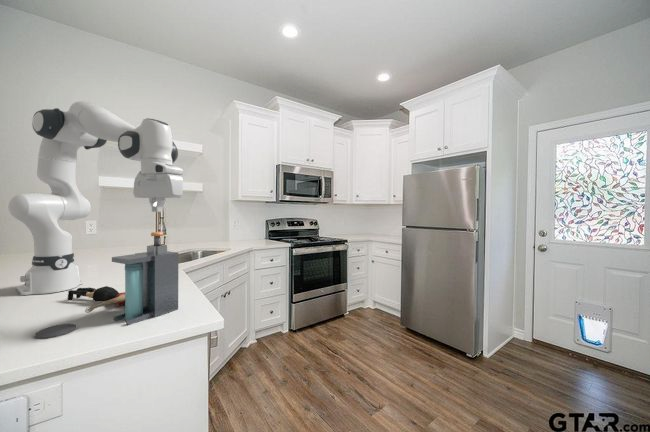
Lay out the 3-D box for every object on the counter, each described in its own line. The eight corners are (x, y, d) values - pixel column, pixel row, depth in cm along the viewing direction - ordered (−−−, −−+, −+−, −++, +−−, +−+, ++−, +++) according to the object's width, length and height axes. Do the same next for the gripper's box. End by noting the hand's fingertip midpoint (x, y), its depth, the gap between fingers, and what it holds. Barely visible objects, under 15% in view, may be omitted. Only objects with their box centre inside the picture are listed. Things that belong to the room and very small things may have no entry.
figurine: (23, 314, 86) (100, 324, 80) (23, 296, 86) (100, 305, 80) (111, 288, 114) (173, 294, 108) (111, 275, 114) (173, 280, 108)
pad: (29, 334, 72) (29, 332, 72) (67, 323, 79) (67, 321, 79) (43, 341, 69) (43, 339, 69) (82, 328, 76) (82, 326, 76)
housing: (110, 320, 82) (109, 248, 81) (159, 304, 96) (159, 243, 95) (130, 326, 78) (129, 251, 77) (178, 309, 92) (178, 245, 91)
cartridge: (121, 319, 82) (121, 264, 82) (137, 314, 87) (137, 261, 86) (130, 322, 80) (130, 265, 80) (146, 317, 85) (146, 262, 84)
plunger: (148, 246, 89) (148, 232, 89) (158, 244, 92) (158, 231, 92) (155, 246, 87) (155, 233, 87) (165, 245, 90) (165, 232, 90)
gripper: (127, 169, 90) (127, 211, 91) (168, 166, 82) (168, 212, 82) (146, 172, 96) (146, 211, 96) (186, 169, 87) (186, 212, 88)
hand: (157, 211), depth 89 cm, fingers closed
